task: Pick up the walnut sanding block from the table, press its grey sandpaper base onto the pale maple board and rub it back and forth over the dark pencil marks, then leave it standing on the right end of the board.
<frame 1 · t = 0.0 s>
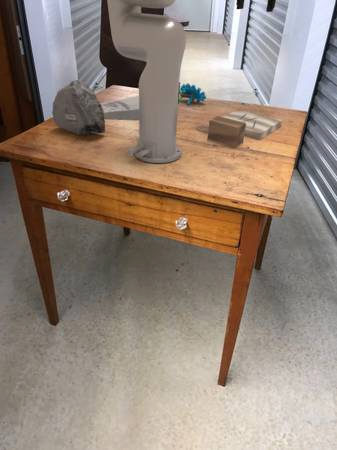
hand: (254, 10, 107), 31 cm above the table, tool pointing down, fingers open, 9 cm apart
gear: (191, 103, 135), on the table
board: (247, 126, 115), on the table
ramp: (130, 116, 121), on the table, touching cpu cooler
cpu cooler: (165, 109, 127), on the table, touching ramp
sanding block: (225, 141, 104), on the table
decorative rock: (79, 134, 105), on the table
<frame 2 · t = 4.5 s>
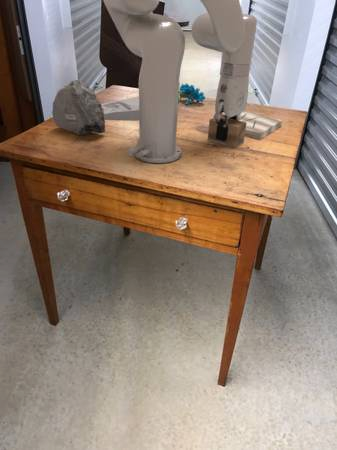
hand: (226, 136, 103), 1 cm above the table, tool pointing down, fingers closed on sanding block, 5 cm apart
ramp: (131, 117, 120), on the table
cpu cooler: (165, 110, 127), on the table
sanding block: (225, 141, 104), on the table, touching gripper
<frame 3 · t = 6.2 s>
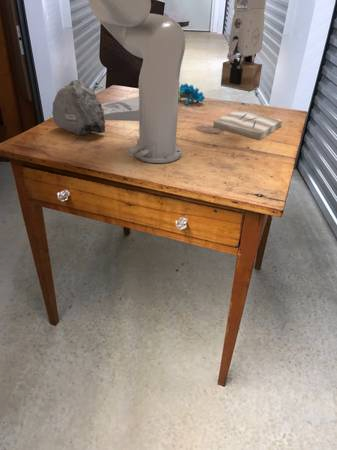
hand: (240, 81, 97), 16 cm above the table, tool pointing down, fingers closed on sanding block, 5 cm apart
ramp: (131, 117, 120), on the table, touching cpu cooler
cpu cooler: (165, 110, 127), on the table, touching ramp
sanding block: (239, 86, 98), point 14 cm above the table, touching gripper
everything else where it was.
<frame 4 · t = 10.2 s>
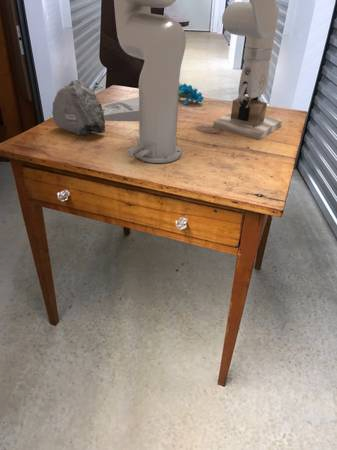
hand: (247, 117, 112), 3 cm above the table, tool pointing down, fingers closed on sanding block, 5 cm apart
sanding block: (246, 121, 113), point 2 cm above the table, touching gripper
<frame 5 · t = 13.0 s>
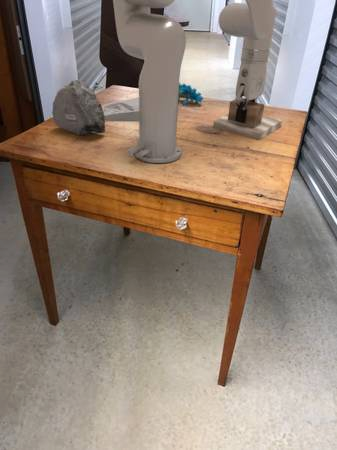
hand: (244, 119, 111), 3 cm above the table, tool pointing down, fingers closed on sanding block, 5 cm apart
sanding block: (244, 122, 112), point 2 cm above the table, touching gripper
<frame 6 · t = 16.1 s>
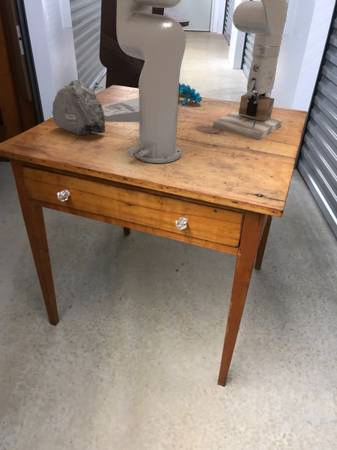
hand: (254, 112, 116), 4 cm above the table, tool pointing down, fingers closed on sanding block, 5 cm apart
sanding block: (254, 116, 116), point 2 cm above the table, touching gripper
when the fingers open (4 cm above the table, at t = 16.1 s): sanding block stays where it is, resting on board.
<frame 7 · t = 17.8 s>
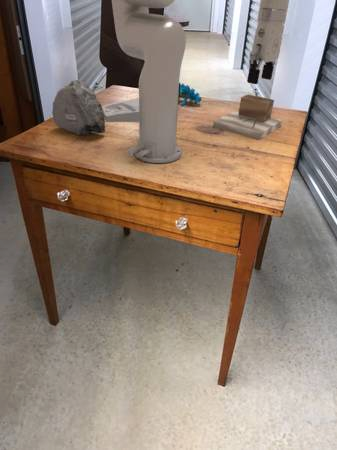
hand: (259, 81, 110), 13 cm above the table, tool pointing down, fingers open, 9 cm apart
ramp: (134, 118, 119), on the table
cpu cooler: (166, 110, 126), on the table
sanding block: (254, 117, 116), point 2 cm above the table, touching board
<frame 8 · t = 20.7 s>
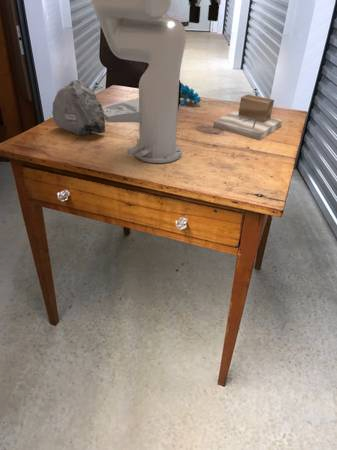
hand: (203, 21, 103), 28 cm above the table, tool pointing down, fingers open, 9 cm apart
ramp: (135, 118, 119), on the table, touching cpu cooler
cpu cooler: (167, 110, 126), on the table, touching ramp
at the end: sanding block inside the target area on the board (0.1 cm from its centre), point 2.0 cm above the board's base; sanding block tilted 0°; the gripper is holding nothing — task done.
